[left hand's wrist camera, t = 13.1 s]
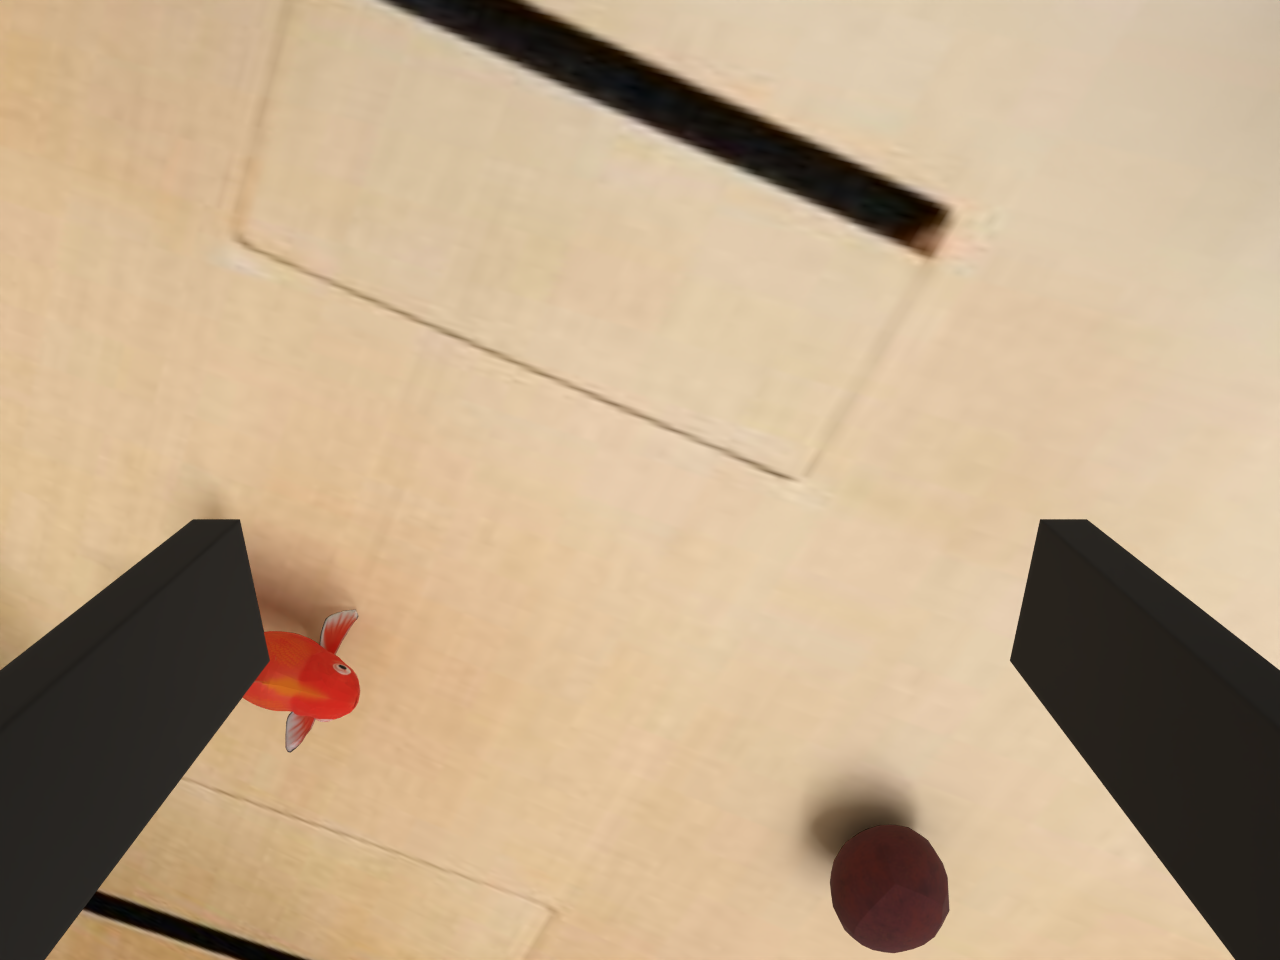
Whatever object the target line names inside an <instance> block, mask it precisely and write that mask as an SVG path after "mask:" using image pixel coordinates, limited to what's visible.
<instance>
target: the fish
mask: <svg viewBox="0 0 1280 960" xmlns="http://www.w3.org/2000/svg"><path fill="white" fill-rule="evenodd" d="M357 618H358V614H357V612H356V610H346V611H341V612H338V613H335V614H333V615H330V616H329V617H327V618H326V619H325V622H324V625H323V628H322V631H321V636H320V645H319V644H318V643H316V642H315V641H313V640H311V639H309V638H307V637H305V636H302V635H299V634H296V633H289V632H281V631H269V632H264V635H265V639H266V644H267V649H268V653H269V658H270V661H269V663H268V664H267V665H266V667H265V668H264V669H263V671H262V672H261V673H260V675H259V676H258V677H257V679H256V680H255V681H254V683H253V684H252V685H251V687H250V688H249V689H248V691H247V692H246V693H245V695H244V696H243V698H244V699H246V700H247V701H249V702H251V703H252V704H255V705H257V706H260V707H262V708H265V709H269V710H274V711H292V712H291V713H290V714H289V716H288V718H287V722H286V749H287V751H288V752H292V751H293V750H294V749H296V748H297V747H298V746H299V745H300V743H301V742H302V741H303V739H304V738H305V736H306V735H307V733H308V732H309V731H310V730H311V728H312V726H313V724H314V721H315V719H316V720H318V721H322V722H328V721H331V720H334V719H337V718H340V717H342V716H344V715H346V714H349V713H350V712H351V711H352V710H353V709H354V708H355V707H356V705H357V703H358V701H359V695H360V686H359V681H358V678H357V675H356V674H355V672H354V671H353V670H352V669H351V668H350V667H349V666H348V665H346V664H345V663H344V662H343V661H342V660H341V659H340V658H339V657H338V656H336V655H335V654H336V652H337V650H338V648H339V646H340V644H341V642H342V641H343V639H344V637H345V636H346V634H347V633H348V631H349V629H350V627H351V626H352V624H353V623H354V622H355V620H357Z"/></svg>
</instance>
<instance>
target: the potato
mask: <svg viewBox="0 0 1280 960" xmlns="http://www.w3.org/2000/svg"><path fill="white" fill-rule="evenodd" d="M830 887H831V896H832V903H833V907H834V909H835V912H836V914H837V916H838V918H839V920H840V922H841V924H842V926H843V928H844V929H845V931H846V932H847V933H848V934H849V935H850V936H851V937H853V938H854V939H855V940H856V941H858V942H859V943H860V944H861V945H863V946H865V947H868V948H870V949H872V950H876V951H881V952H888V953H897V952H903V951H907V950H911V949H914V948H917V947H919V946H922V945H924V944H926V943H927V942H928V941H930V940H931V939H932V938H934V937H935V935H936V934H937V932H938V931H939V929H940V928H941V926H942V924H943V922H944V920H945V918H946V916H947V914H948V912H949V896H948V878H947V874H946V871H945V868H944V866H943V863H942V861H941V860H940V858H939V857H938V855H937V853H936V852H935V850H934V849H933V847H932V846H931V844H930V843H929V841H928V840H927V839H925V838H924V837H923V836H921V835H920V834H918V833H917V832H915V831H913V830H912V829H910V828H909V827H903V826H898V825H878V826H875V827H872V828H869V829H866V830H864V831H862V832H860V833H859V834H857V835H856V836H854V837H853V838H851V839H850V840H848V841H847V842H846V843H845V844H844V845H843V847H842V848H841V850H840V851H839V853H838V855H837V857H836V858H835V860H834V863H833V867H832V871H831V879H830Z"/></svg>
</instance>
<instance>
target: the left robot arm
mask: <svg viewBox="0 0 1280 960" xmlns="http://www.w3.org/2000/svg"><path fill="white" fill-rule="evenodd" d="M269 661H270V658H269V653H268V649H267V644H266V639H265V635H264V630H263V625H262V621H261V616H260V611H259V607H258V602H257V597H256V593H255V588H254V583H253V579H252V574H251V569H250V565H249V560H248V555H247V551H246V546H245V541H244V537H243V532H242V527H241V523H240V519H193V520H192V521H191V522H189V523H188V524H187V525H185V526H184V527H183V528H182V529H180V530H179V531H178V532H176V533H175V534H174V535H173V536H171V537H170V538H169V539H168V540H166V541H165V542H164V543H162V544H161V545H160V546H159V547H157V548H156V549H155V550H153V551H152V552H151V553H150V554H148V555H147V556H146V557H145V558H143V559H142V560H141V561H139V562H138V563H137V564H136V565H134V566H133V567H132V568H130V569H129V570H128V571H127V572H125V573H124V574H123V575H122V576H120V577H119V578H118V579H116V580H115V581H114V582H113V583H111V584H110V585H109V586H107V587H106V588H105V589H104V590H102V591H101V592H100V593H99V594H97V595H96V596H95V597H93V598H92V599H91V600H90V601H88V602H87V603H86V604H84V605H83V606H82V607H81V608H79V609H78V610H77V611H76V612H74V613H73V614H72V615H70V616H69V617H68V618H67V619H65V620H64V621H63V622H61V623H60V624H59V625H58V626H56V627H55V628H54V629H53V630H51V631H50V632H49V633H47V634H46V635H45V636H44V637H42V638H41V639H40V640H39V641H37V642H36V643H35V644H33V645H32V646H31V647H30V648H28V649H27V650H26V651H24V652H23V653H22V654H21V655H19V656H18V657H17V658H16V659H14V660H13V661H12V662H10V663H9V664H8V665H7V666H5V667H4V668H3V669H1V670H0V960H45V959H46V957H47V956H48V955H49V953H50V952H51V951H52V949H53V948H54V947H55V945H56V944H57V943H58V941H59V940H60V939H61V937H62V936H63V935H64V933H65V932H66V931H67V929H68V928H69V927H70V925H71V924H72V923H73V921H74V920H75V919H76V917H77V916H78V915H79V914H80V912H81V911H82V910H83V908H84V907H85V906H86V904H87V903H88V902H89V900H90V899H91V898H92V896H93V895H94V894H95V892H96V891H97V890H98V888H99V887H100V886H101V884H102V883H103V882H104V880H105V879H106V878H107V876H108V875H109V874H110V872H111V871H112V870H113V868H114V867H115V866H116V864H117V863H118V862H119V860H120V859H121V858H122V856H123V855H124V854H125V852H126V851H127V850H128V848H129V847H130V846H131V844H132V843H133V842H134V841H135V839H136V838H137V837H138V835H139V834H140V833H141V831H142V830H143V829H144V827H145V826H146V825H147V823H148V822H149V821H150V819H151V818H152V817H153V815H154V814H155V813H156V811H157V810H158V809H159V807H160V806H161V805H162V803H163V802H164V801H165V799H166V798H167V797H168V795H169V794H170V793H171V791H172V790H173V789H174V787H175V786H176V785H177V783H178V782H179V781H180V779H181V778H182V777H183V775H184V774H185V773H186V772H187V770H188V769H189V768H190V766H191V765H192V764H193V762H194V761H195V760H196V758H197V757H198V756H199V754H200V753H201V752H202V750H203V749H204V748H205V746H206V745H207V744H208V742H209V741H210V740H211V738H212V737H213V736H214V734H215V733H216V732H217V730H218V729H219V728H220V726H221V725H222V724H223V722H224V721H225V720H226V718H227V717H228V716H229V714H230V713H231V712H232V710H233V709H234V708H235V706H236V705H237V704H238V702H239V701H240V700H241V699H242V697H243V696H244V695H245V693H246V692H247V691H248V689H249V688H250V687H251V685H252V684H253V683H254V681H255V680H256V679H257V677H258V676H259V675H260V673H261V672H262V671H263V669H264V668H265V667H266V665H267V664H268V663H269ZM1010 661H1011V663H1012V664H1013V665H1014V667H1015V668H1016V669H1017V671H1018V672H1019V673H1020V675H1021V676H1022V677H1023V679H1024V680H1025V681H1026V683H1027V684H1028V685H1029V687H1030V688H1031V689H1032V691H1033V692H1034V693H1035V695H1036V696H1037V697H1038V699H1039V700H1040V701H1041V703H1042V704H1043V705H1044V706H1045V708H1046V709H1047V710H1048V712H1049V713H1050V714H1051V716H1052V717H1053V718H1054V720H1055V721H1056V722H1057V724H1058V725H1059V726H1060V728H1061V729H1062V730H1063V732H1064V733H1065V734H1066V736H1067V737H1068V738H1069V740H1070V741H1071V742H1072V744H1073V745H1074V746H1075V748H1076V749H1077V750H1078V752H1079V753H1080V754H1081V756H1082V757H1083V758H1084V760H1085V761H1086V762H1087V764H1088V765H1089V766H1090V768H1091V769H1092V770H1093V772H1094V773H1095V774H1096V775H1097V777H1098V778H1099V779H1100V781H1101V782H1102V783H1103V785H1104V786H1105V787H1106V789H1107V790H1108V791H1109V793H1110V794H1111V795H1112V797H1113V798H1114V799H1115V801H1116V802H1117V803H1118V805H1119V806H1120V807H1121V809H1122V810H1123V811H1124V813H1125V814H1126V815H1127V817H1128V818H1129V819H1130V821H1131V822H1132V823H1133V825H1134V826H1135V827H1136V829H1137V830H1138V831H1139V833H1140V834H1141V835H1142V837H1143V838H1144V839H1145V841H1146V842H1147V843H1148V844H1149V846H1150V847H1151V848H1152V850H1153V851H1154V852H1155V854H1156V855H1157V856H1158V858H1159V859H1160V860H1161V862H1162V863H1163V864H1164V866H1165V867H1166V868H1167V870H1168V871H1169V872H1170V874H1171V875H1172V876H1173V878H1174V879H1175V880H1176V882H1177V883H1178V884H1179V886H1180V887H1181V888H1182V890H1183V891H1184V892H1185V894H1186V895H1187V896H1188V898H1189V899H1190V900H1191V902H1192V903H1193V904H1194V906H1195V907H1196V908H1197V910H1198V911H1199V912H1200V914H1201V915H1202V916H1203V917H1204V919H1205V920H1206V921H1207V923H1208V924H1209V925H1210V927H1211V928H1212V929H1213V931H1214V932H1215V933H1216V935H1217V936H1218V937H1219V939H1220V940H1221V941H1222V943H1223V944H1224V945H1225V947H1226V948H1227V949H1228V951H1229V952H1230V953H1231V955H1232V956H1233V957H1234V959H1235V960H1280V670H1279V669H1277V668H1276V667H1275V666H1273V665H1272V664H1271V663H1270V662H1268V661H1267V660H1266V659H1264V658H1263V657H1262V656H1261V655H1259V654H1258V653H1257V652H1256V651H1254V650H1253V649H1252V648H1250V647H1249V646H1248V645H1247V644H1245V643H1244V642H1243V641H1241V640H1240V639H1239V638H1238V637H1236V636H1235V635H1234V634H1233V633H1231V632H1230V631H1229V630H1227V629H1226V628H1225V627H1224V626H1222V625H1221V624H1220V623H1219V622H1217V621H1216V620H1215V619H1213V618H1212V617H1211V616H1210V615H1208V614H1207V613H1206V612H1204V611H1203V610H1202V609H1201V608H1199V607H1198V606H1197V605H1196V604H1194V603H1193V602H1192V601H1190V600H1189V599H1188V598H1187V597H1185V596H1184V595H1183V594H1181V593H1180V592H1179V591H1178V590H1176V589H1175V588H1174V587H1173V586H1171V585H1170V584H1169V583H1167V582H1166V581H1165V580H1164V579H1162V578H1161V577H1160V576H1158V575H1157V574H1156V573H1155V572H1153V571H1152V570H1151V569H1150V568H1148V567H1147V566H1146V565H1144V564H1143V563H1142V562H1141V561H1139V560H1138V559H1137V558H1135V557H1134V556H1133V555H1132V554H1130V553H1129V552H1128V551H1127V550H1125V549H1124V548H1123V547H1121V546H1120V545H1119V544H1118V543H1116V542H1115V541H1114V540H1112V539H1111V538H1110V537H1109V536H1107V535H1106V534H1105V533H1104V532H1102V531H1101V530H1100V529H1098V528H1097V527H1096V526H1095V525H1093V524H1092V523H1091V522H1089V521H1088V520H1087V519H1040V523H1039V527H1038V532H1037V537H1036V541H1035V546H1034V551H1033V555H1032V560H1031V565H1030V569H1029V574H1028V579H1027V583H1026V588H1025V593H1024V597H1023V602H1022V607H1021V611H1020V616H1019V621H1018V625H1017V630H1016V635H1015V639H1014V644H1013V649H1012V653H1011V658H1010Z"/></svg>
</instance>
